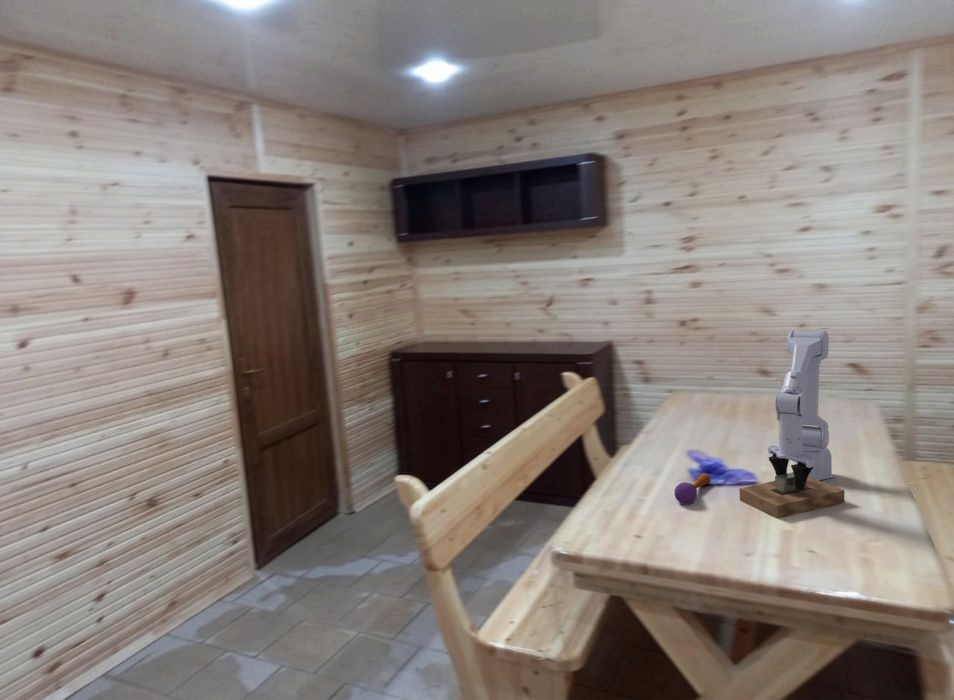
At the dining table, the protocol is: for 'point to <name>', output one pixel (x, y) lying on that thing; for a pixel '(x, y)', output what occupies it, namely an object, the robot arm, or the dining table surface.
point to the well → (791, 498)
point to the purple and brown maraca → (690, 489)
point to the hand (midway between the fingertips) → (790, 485)
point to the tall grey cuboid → (786, 484)
